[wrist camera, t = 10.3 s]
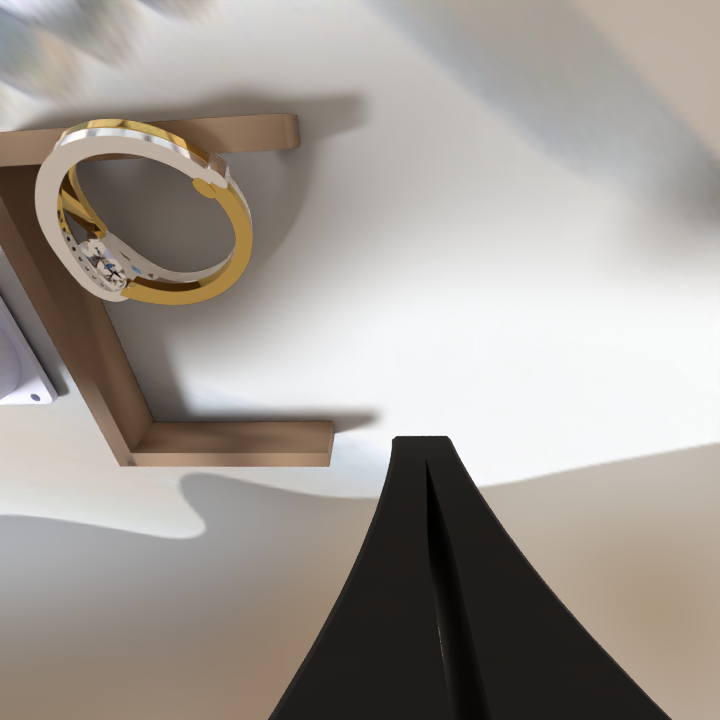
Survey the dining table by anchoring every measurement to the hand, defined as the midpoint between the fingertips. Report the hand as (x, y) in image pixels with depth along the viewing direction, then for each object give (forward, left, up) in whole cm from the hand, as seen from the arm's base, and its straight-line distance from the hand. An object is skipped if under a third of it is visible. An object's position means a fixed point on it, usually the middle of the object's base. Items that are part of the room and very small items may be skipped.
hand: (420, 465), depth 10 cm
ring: (-6, +7, -7) cm, 11 cm away
